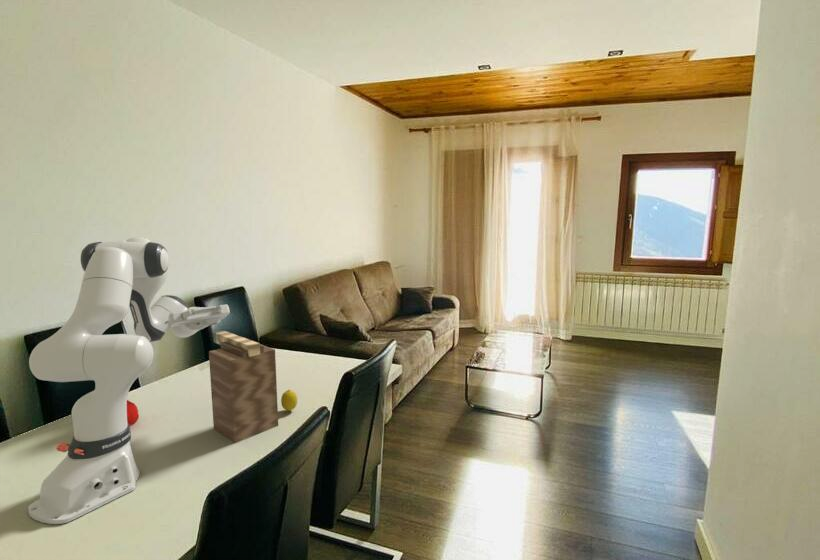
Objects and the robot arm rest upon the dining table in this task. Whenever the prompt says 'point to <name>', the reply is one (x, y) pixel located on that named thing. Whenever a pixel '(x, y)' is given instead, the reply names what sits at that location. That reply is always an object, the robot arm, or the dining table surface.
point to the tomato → (132, 413)
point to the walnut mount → (243, 391)
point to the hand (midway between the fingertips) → (206, 309)
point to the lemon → (289, 400)
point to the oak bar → (237, 342)
